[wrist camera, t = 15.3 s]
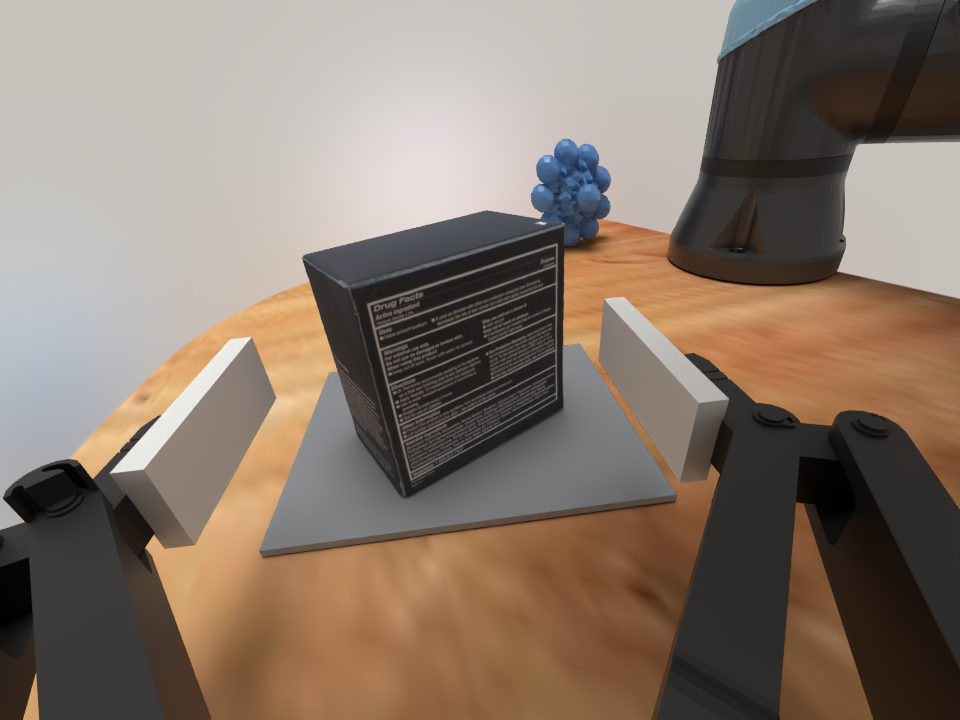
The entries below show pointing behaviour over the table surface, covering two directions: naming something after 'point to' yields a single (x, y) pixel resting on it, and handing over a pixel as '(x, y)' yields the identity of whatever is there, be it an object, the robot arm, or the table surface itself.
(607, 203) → the blue bumpy cluster
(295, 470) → the mat
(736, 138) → the robot arm
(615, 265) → the table surface
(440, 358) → the small box
